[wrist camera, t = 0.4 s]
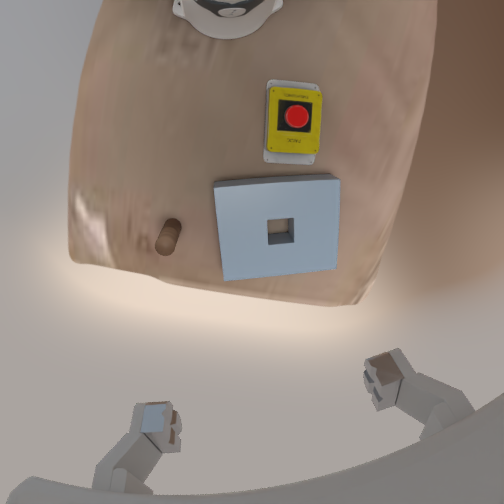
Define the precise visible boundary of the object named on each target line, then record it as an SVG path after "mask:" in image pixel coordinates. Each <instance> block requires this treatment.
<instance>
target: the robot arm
mask: <svg viewBox="0 0 504 504" xmlns="http://www.w3.org/2000/svg"><path fill="white" fill-rule="evenodd" d="M179 3H181V5H178V4H179ZM282 6H283V0H174V4H173V9H172V10H173V13H174V15H176V16H178V17H180V18H183V19H186V20H187V21H189V22H190V23H191V24H192V26H193V27H194V28H196V29H197V30H198V31H199V32H201V33H203V34H205V35H207V36H210V37H213V38H218V39H235V38H240V37H244V36H246V35H249V34H251V33H253V32H254V31H256V30H257V29H258V28H260V27H261V26H262V25H263V23H264V22H265V21H266V19H267V18H268V17H269V16H270V15H271V14H273V13H275V12H276V11H278V10H280V9H281V8H282ZM364 366H365V368H366V370H365V371H364V377H363V378H364V383H365V386H366V389H367V391H368V392H369V393H371V394H372V402H373V404H374V406H375V408H376V410H377V411H380V410H383V409H386V408H389V407H392V406H394V405H395V406H396V407H398V408H399V409H401V410H402V411H404V412H405V413H407V414H408V415H410V416H412V417H413V418H415V419H416V420H418V421H419V422H421V423H423V424H424V425H425V427H424V429H423V431H422V433H421V435H420V437H419V438H420V440H421V441H419V442H417V443H415V444H412V445H410V446H408V447H406V448H403V449H401V450H398V451H396V452H394V453H391V454H389V455H386V456H383V457H381V458H378V459H376V460H373V461H370V462H367V463H364V464H361V465H358V466H355V467H352V468H349V469H346V470H342V471H339V472H335V473H332V474H328V475H325V476H321V477H317V478H313V479H309V480H304V481H300V482H295V483H290V484H285V485H280V486H275V487H268V488H262V489H255V490H248V491H239V492H231V493H218V494H205V495H204V494H202V495H153V491H152V490H151V489H150V488H149V487H148V486H146V485H145V484H143V483H144V481H145V480H146V478H147V477H148V476H149V474H150V473H151V471H152V470H153V468H154V466H155V465H156V464H157V462H158V461H159V459H160V457H161V456H162V453H174V452H180V448H181V439H180V438H179V436H178V435H179V434H180V432H181V430H182V424H181V419H180V416H179V414H178V412H177V411H175V410H173V405H172V404H171V402H170V401H165V402H148V403H136V405H135V406H134V411H133V416H132V421H131V426H130V431H129V433H126V434H125V435H124V436H123V437H122V438H121V440H120V441H119V442H118V443H117V444H116V445H115V446H114V447H113V448H112V449H111V450H110V451H109V452H108V454H107V455H106V456H105V457H104V458H103V459H102V460H101V461H100V462H99V463H98V464H97V465H96V469H95V474H94V479H93V484H92V489H91V488H84V487H79V486H74V485H69V484H63V483H59V482H55V481H51V480H47V479H43V478H39V477H34V476H32V477H29V478H27V479H26V480H25V481H23V482H22V483H21V484H19V485H18V486H17V487H16V488H15V489H14V490H13V491H12V492H11V493H10V495H9V497H8V499H7V502H6V504H504V393H503V394H501V395H500V396H498V397H497V398H495V399H494V400H493V401H491V402H489V403H488V404H486V405H485V406H483V407H482V408H480V409H478V410H477V411H475V410H474V408H473V407H472V405H471V404H470V402H469V401H468V399H467V398H466V396H465V395H464V393H463V392H462V391H460V390H458V389H456V388H454V387H451V386H449V385H446V384H444V383H442V382H440V381H437V380H435V379H433V378H431V377H428V376H426V375H424V374H422V373H416V372H415V371H414V370H413V368H412V366H411V365H410V363H409V362H408V360H407V359H406V357H405V356H404V354H403V353H402V351H401V350H400V349H399V348H397V349H394V350H391V351H388V352H385V353H382V354H379V355H376V356H373V357H371V358H368V359H366V360H365V363H364Z"/></svg>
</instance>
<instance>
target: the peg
mask: <svg viewBox="0 0 504 504" xmlns="http://www.w3.org/2000/svg"><path fill="white" fill-rule="evenodd" d="M180 231H181V223H180V222H179V221H178V220H177V219H169V220H167V221H166V222H165V224H164V226H163V228H162V230H161V233H160V235H159V237H158V239H157V241H156V243H155V249H156V251H157V252H158V253H159V254H160V255H163V256H168V255H171V254H172V253H173V252H174V249H175V246H176V243H177V240H178V237H179V234H180Z"/></svg>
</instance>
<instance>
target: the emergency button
mask: <svg viewBox="0 0 504 504" xmlns="http://www.w3.org/2000/svg"><path fill="white" fill-rule="evenodd" d="M321 112H322V93H321V92H319V87H318V86H317V85H316V84H312V83H304V82H295V81H285V80H274V79H272V80H269V81H268V82H267V89H266V110H265V131H264V151H263V158H264V160H265V162H267V163H283V164H301V165H311V164H313V163H314V160H315V154H317V153H318V151H319V141H320V128H321Z"/></svg>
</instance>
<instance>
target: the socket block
mask: <svg viewBox="0 0 504 504" xmlns="http://www.w3.org/2000/svg"><path fill="white" fill-rule="evenodd" d="M214 196H215V205H216V215H217V224H218V233H219V242H220V250H221V259H222V267H223V275H224V281H230V280H240V279H250V278H260V277H269V276H278V275H288V274H296V273H305V272H314V271H322V270H331V269H336V267H337V252H338V235H339V212H340V179H339V178H337V177H335V176H333V175H332V174H314V175H294V176H277V177H263V178H250V179H238V180H227V181H217V182H214ZM283 218H288V232H285V233H274V234H268V231H267V220H271V219H283Z"/></svg>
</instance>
